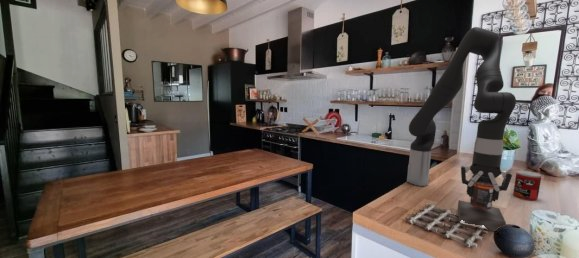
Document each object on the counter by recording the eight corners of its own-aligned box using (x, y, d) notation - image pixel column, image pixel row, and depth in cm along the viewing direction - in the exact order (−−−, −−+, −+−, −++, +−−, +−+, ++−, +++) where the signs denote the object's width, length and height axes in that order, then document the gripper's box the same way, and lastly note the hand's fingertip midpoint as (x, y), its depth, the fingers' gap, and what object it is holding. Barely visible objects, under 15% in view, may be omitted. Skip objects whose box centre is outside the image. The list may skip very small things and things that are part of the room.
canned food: (508, 193, 112) (511, 170, 111) (524, 193, 113) (527, 170, 111) (525, 201, 105) (529, 176, 103) (542, 200, 105) (546, 176, 104)
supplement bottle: (495, 211, 82) (499, 179, 81) (475, 209, 84) (479, 177, 82) (485, 203, 88) (489, 173, 87) (466, 202, 89) (470, 172, 88)
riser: (458, 223, 85) (460, 212, 84) (457, 210, 95) (458, 200, 94) (504, 234, 78) (505, 222, 78) (497, 218, 88) (499, 208, 88)
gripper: (513, 152, 83) (506, 199, 85) (461, 146, 90) (456, 190, 93) (518, 156, 76) (510, 207, 79) (462, 150, 84) (456, 197, 86)
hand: (481, 198), depth 86 cm, fingers closed on supplement bottle, 6 cm apart
